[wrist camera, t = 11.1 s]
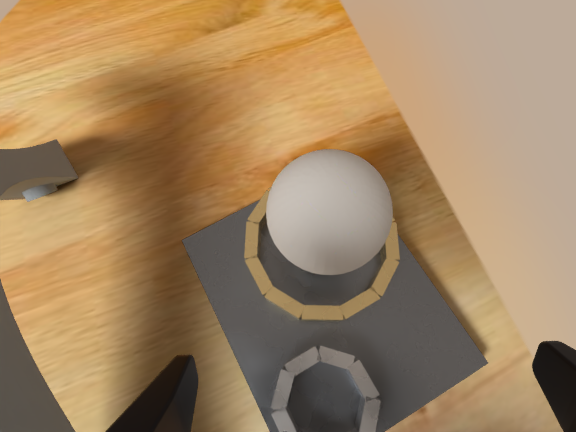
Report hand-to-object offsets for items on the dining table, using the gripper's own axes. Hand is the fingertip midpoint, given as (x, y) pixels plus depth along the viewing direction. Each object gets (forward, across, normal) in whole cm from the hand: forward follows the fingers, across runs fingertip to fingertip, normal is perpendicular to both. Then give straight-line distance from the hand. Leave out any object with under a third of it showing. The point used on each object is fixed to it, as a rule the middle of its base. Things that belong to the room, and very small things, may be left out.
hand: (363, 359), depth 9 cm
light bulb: (+13, 0, +5) cm, 14 cm away
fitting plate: (+12, 0, +8) cm, 14 cm away
